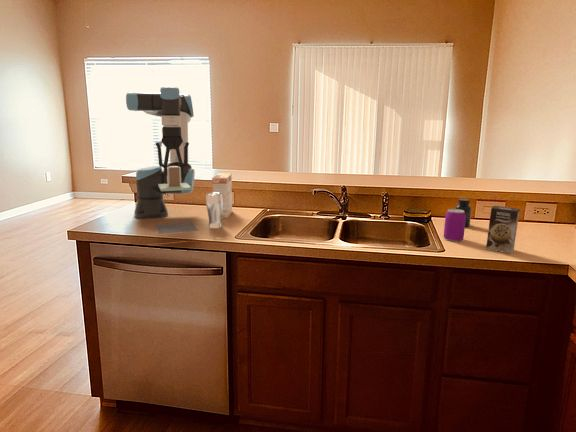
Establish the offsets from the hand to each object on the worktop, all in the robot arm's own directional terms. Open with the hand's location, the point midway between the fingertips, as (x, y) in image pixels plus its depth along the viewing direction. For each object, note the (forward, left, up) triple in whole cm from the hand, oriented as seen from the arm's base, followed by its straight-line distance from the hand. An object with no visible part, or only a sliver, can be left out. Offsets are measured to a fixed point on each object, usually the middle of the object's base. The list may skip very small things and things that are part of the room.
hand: (174, 182), depth 184 cm
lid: (0, 0, -2) cm, 2 cm away
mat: (0, 0, -20) cm, 20 cm away
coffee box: (+70, +110, -20) cm, 132 cm away
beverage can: (+53, +103, -20) cm, 118 cm away
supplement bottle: (+36, +123, -20) cm, 130 cm away
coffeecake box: (-19, +25, -20) cm, 37 cm away
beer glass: (+4, +16, -20) cm, 26 cm away
